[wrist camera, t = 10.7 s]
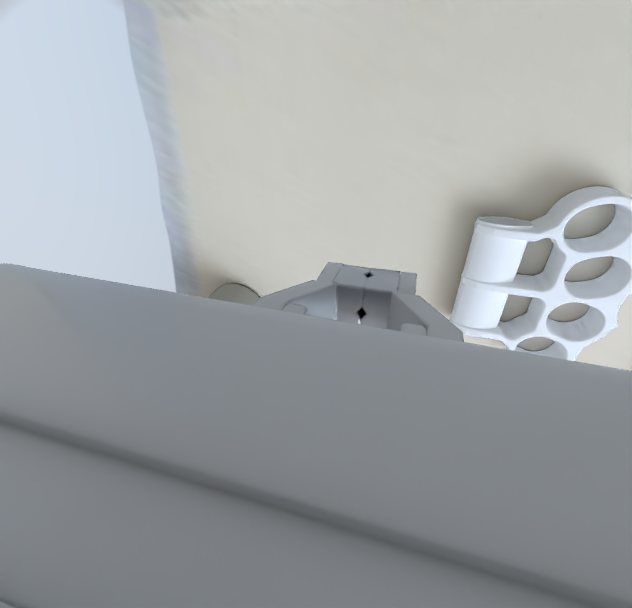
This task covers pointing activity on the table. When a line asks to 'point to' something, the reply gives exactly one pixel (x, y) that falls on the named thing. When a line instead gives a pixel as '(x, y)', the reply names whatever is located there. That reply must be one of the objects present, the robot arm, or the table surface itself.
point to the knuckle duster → (546, 276)
